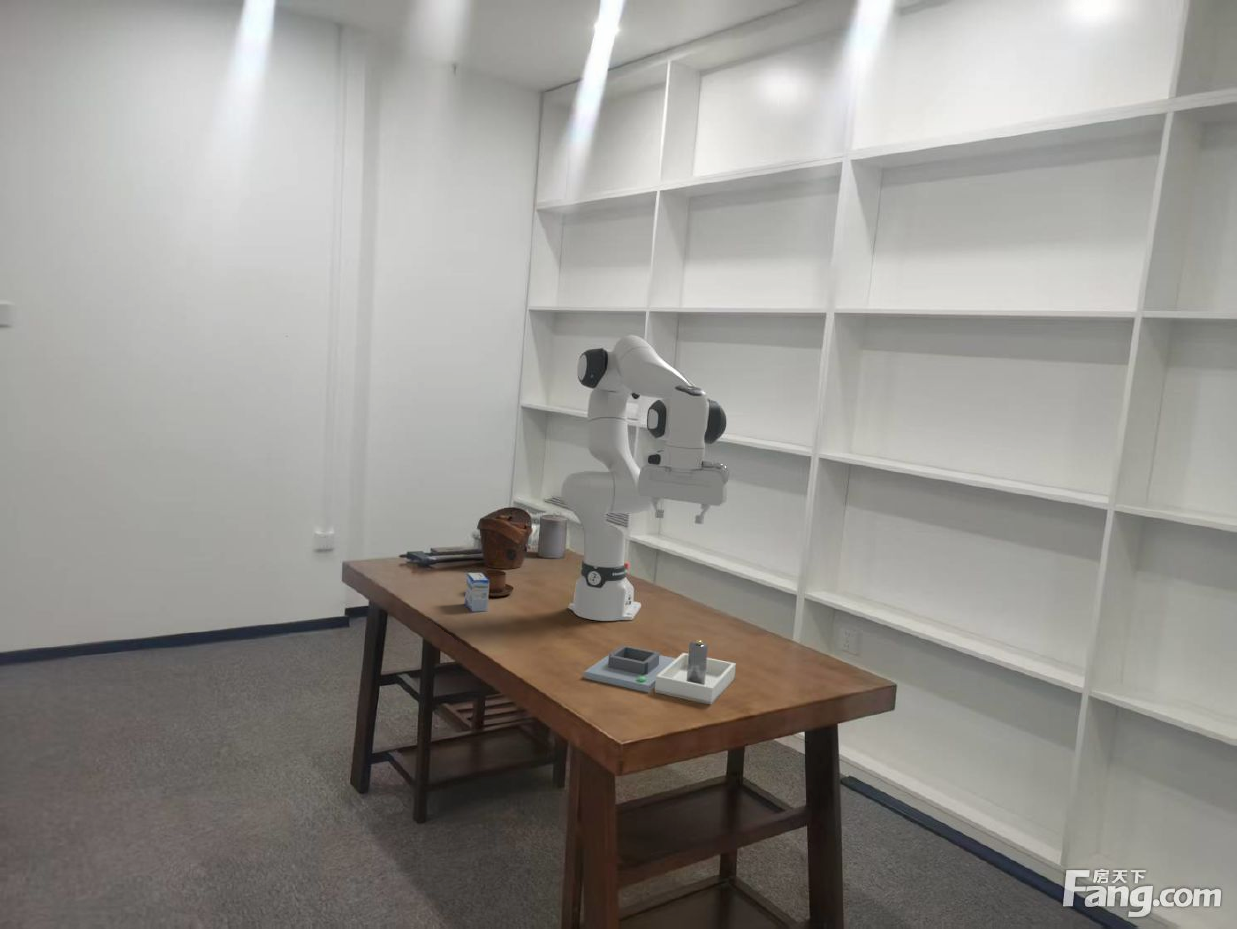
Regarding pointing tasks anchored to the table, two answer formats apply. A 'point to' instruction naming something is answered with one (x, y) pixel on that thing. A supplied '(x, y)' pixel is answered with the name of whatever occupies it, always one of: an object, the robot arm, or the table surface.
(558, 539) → the pillar candle
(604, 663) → the tester cradle
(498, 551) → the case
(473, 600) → the medicine box
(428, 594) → the table surface
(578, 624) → the table surface
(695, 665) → the cell
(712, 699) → the tray
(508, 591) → the cup and saucer
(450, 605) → the table surface
